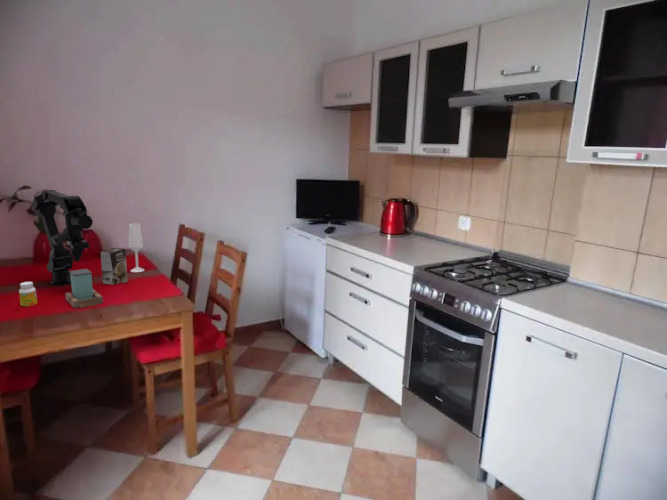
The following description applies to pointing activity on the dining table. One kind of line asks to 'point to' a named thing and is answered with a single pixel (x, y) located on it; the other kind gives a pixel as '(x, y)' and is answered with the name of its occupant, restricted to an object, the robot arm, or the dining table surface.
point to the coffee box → (114, 266)
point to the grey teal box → (81, 284)
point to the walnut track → (84, 303)
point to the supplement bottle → (27, 294)
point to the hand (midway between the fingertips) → (77, 261)
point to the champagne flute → (135, 243)
